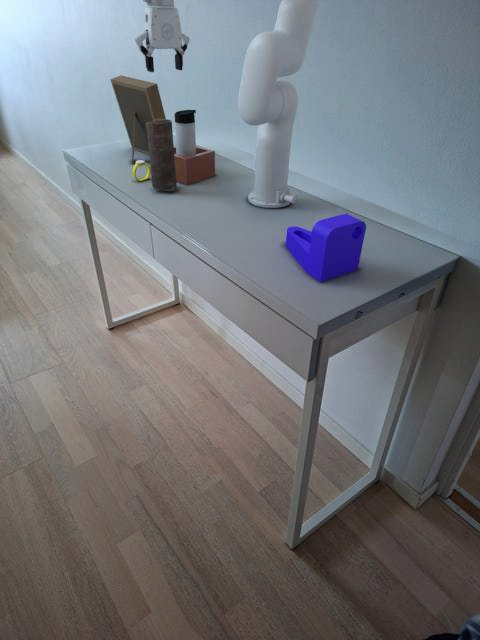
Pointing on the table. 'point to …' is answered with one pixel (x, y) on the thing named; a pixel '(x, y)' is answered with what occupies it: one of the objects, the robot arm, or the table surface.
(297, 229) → the bracket
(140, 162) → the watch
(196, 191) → the table surface
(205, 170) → the holder
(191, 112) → the travel mug
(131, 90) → the photo frame
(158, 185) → the dark brown tall block
